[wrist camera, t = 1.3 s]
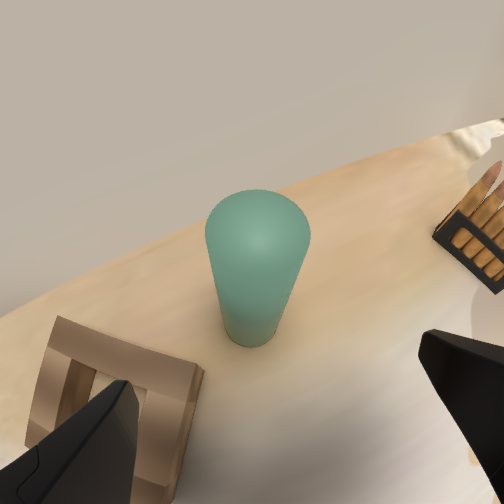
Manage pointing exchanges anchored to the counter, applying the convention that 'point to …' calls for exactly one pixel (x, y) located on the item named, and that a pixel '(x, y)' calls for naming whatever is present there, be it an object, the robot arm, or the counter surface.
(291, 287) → the peg
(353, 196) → the counter surface
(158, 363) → the socket block
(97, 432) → the robot arm
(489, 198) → the ammunition clip
